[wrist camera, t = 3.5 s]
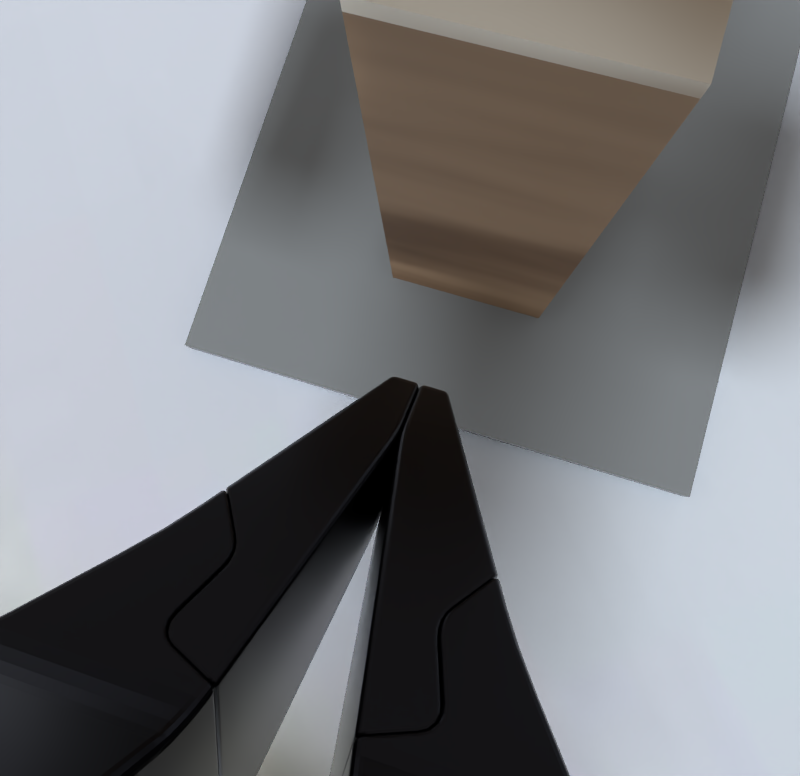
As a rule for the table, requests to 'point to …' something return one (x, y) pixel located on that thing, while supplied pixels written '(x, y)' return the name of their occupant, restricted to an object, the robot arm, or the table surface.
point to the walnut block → (518, 128)
